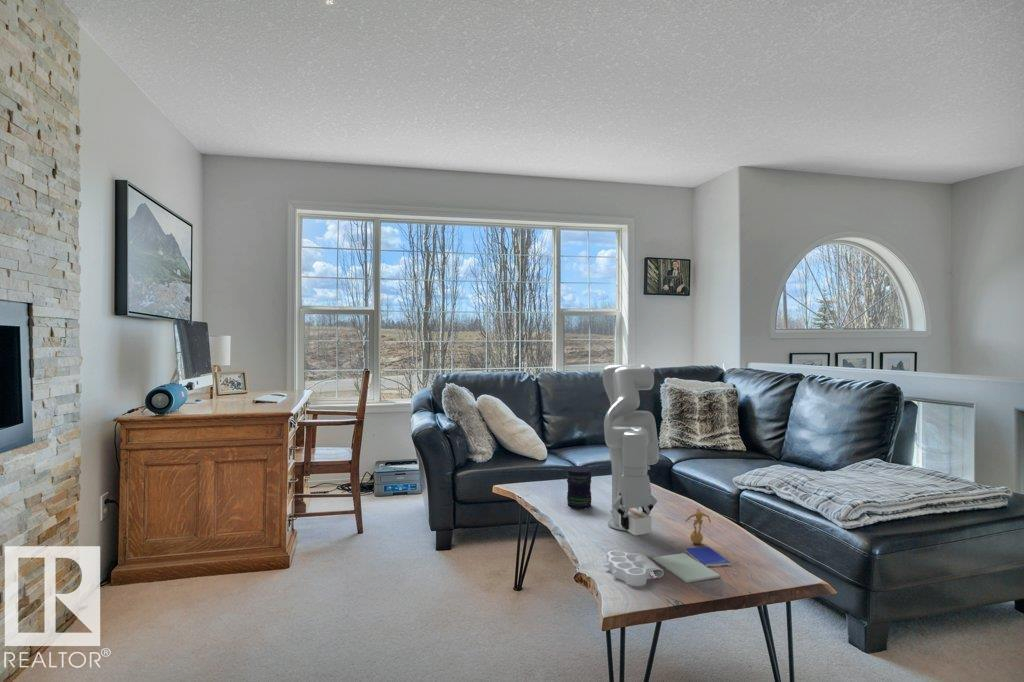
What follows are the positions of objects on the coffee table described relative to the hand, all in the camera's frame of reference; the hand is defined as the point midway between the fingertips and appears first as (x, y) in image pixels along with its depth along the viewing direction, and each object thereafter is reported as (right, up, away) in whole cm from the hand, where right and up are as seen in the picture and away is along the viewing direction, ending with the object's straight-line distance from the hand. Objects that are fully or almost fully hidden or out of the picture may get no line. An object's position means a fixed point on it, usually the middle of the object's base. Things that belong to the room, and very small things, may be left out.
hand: (634, 526), depth 172 cm
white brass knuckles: (-4, -9, -15) cm, 18 cm away
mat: (+12, -8, -12) cm, 19 cm away
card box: (0, -1, 0) cm, 1 cm away
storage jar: (-12, -9, +49) cm, 51 cm away
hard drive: (+21, -9, -5) cm, 23 cm away
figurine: (+22, -8, +6) cm, 24 cm away
